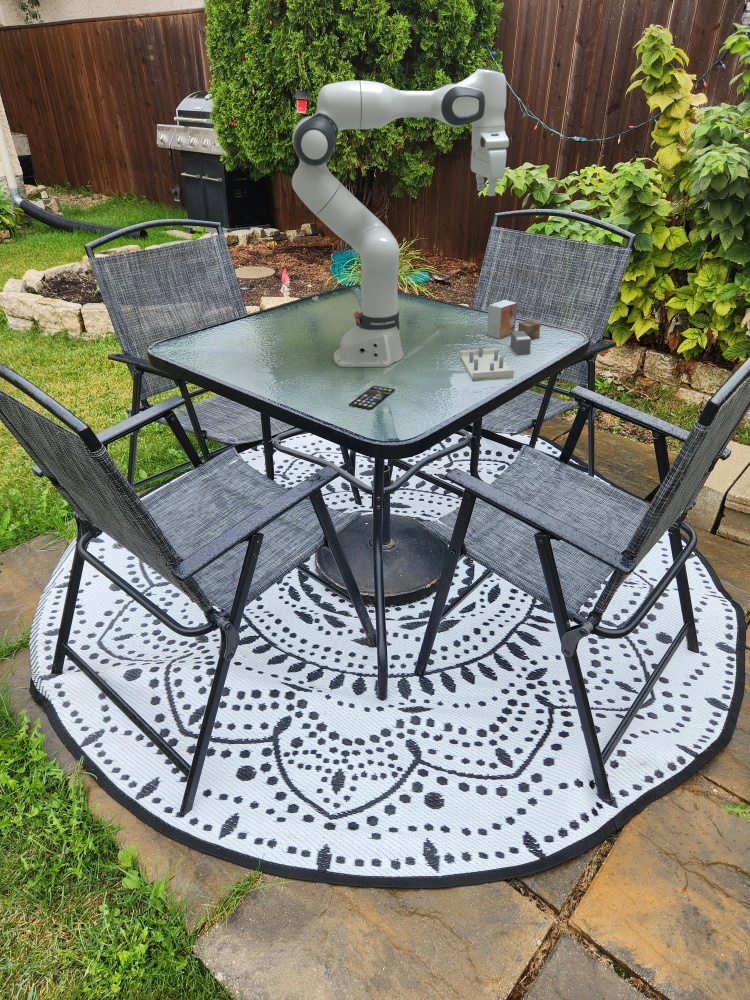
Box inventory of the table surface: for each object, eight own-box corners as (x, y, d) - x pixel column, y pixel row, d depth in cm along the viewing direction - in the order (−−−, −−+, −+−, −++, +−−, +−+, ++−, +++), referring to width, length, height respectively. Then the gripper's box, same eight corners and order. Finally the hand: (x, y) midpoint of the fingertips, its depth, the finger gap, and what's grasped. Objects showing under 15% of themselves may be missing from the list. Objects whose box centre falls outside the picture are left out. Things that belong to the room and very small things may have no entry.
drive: (516, 355, 210) (518, 340, 207) (510, 346, 216) (511, 331, 213) (529, 354, 210) (531, 339, 207) (522, 346, 216) (523, 330, 214)
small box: (499, 339, 222) (501, 307, 216) (486, 335, 226) (488, 304, 220) (515, 333, 226) (517, 302, 221) (502, 329, 230) (504, 299, 224)
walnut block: (526, 341, 220) (527, 326, 217) (517, 337, 224) (518, 322, 221) (539, 338, 221) (540, 323, 219) (529, 334, 225) (531, 319, 223)
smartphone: (396, 389, 191) (371, 409, 180) (396, 391, 191) (371, 411, 180) (373, 385, 194) (347, 404, 183) (373, 387, 194) (347, 407, 184)
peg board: (472, 380, 194) (473, 367, 192) (460, 358, 209) (460, 346, 207) (513, 377, 195) (514, 364, 193) (497, 355, 210) (498, 343, 208)
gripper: (466, 135, 191) (464, 188, 198) (488, 142, 174) (485, 199, 181) (487, 134, 191) (485, 187, 199) (511, 140, 174) (508, 197, 182)
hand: (485, 193), depth 190 cm, fingers open, 8 cm apart
